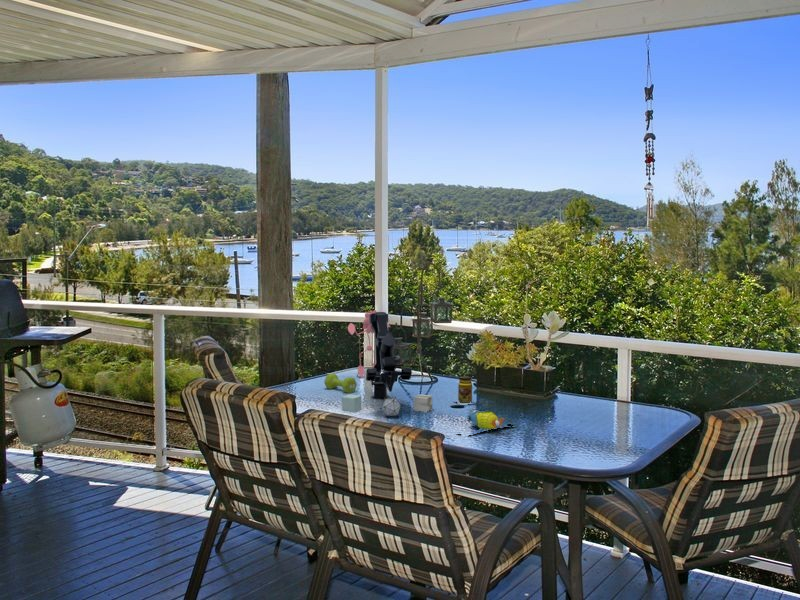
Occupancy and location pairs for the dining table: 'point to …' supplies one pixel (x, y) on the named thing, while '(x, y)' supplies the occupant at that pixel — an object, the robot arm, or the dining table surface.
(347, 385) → the dumbbell
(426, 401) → the birch block
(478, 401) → the dining table surface
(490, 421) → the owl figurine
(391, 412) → the game die
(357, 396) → the sage block
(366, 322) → the pink tall part
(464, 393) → the condiment
